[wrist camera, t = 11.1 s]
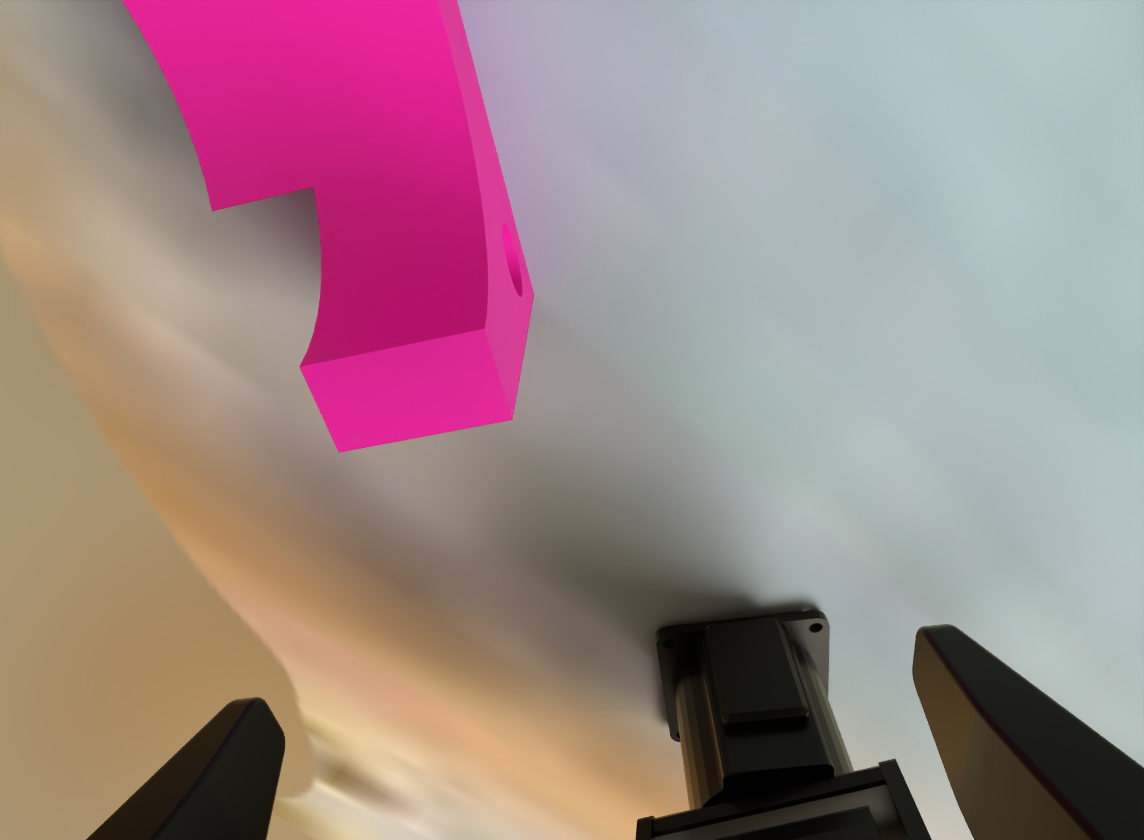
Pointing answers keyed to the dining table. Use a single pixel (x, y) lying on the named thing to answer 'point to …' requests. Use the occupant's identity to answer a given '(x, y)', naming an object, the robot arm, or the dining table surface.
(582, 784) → the dining table surface
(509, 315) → the toy block
